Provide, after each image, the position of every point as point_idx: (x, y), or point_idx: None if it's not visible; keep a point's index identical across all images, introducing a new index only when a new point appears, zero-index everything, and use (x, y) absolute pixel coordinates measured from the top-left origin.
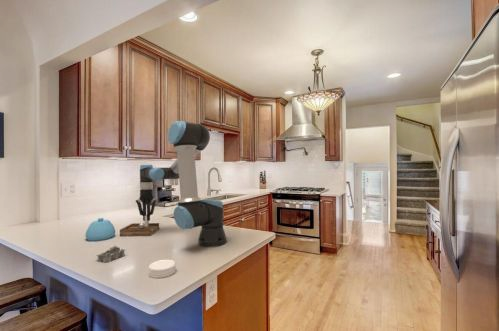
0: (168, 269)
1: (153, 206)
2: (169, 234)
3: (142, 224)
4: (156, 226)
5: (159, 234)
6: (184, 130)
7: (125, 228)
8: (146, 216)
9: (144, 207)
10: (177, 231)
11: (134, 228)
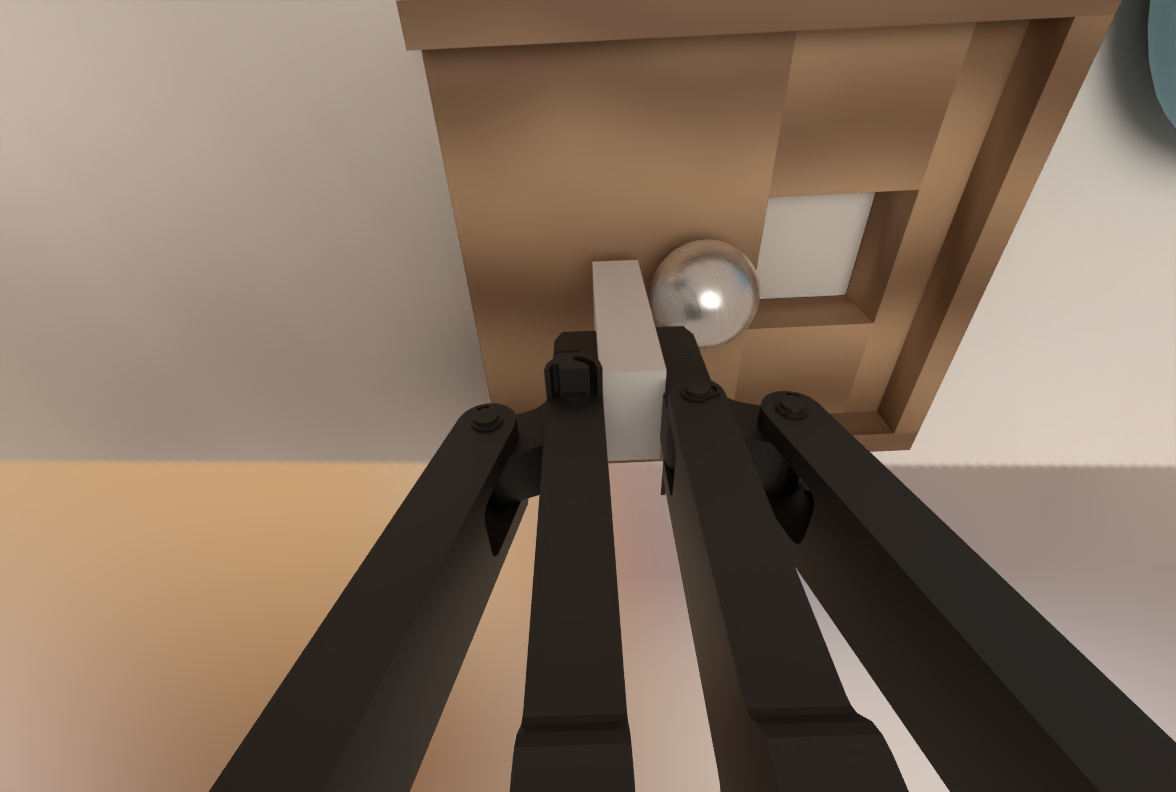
0: None
1: (300, 665)
2: (136, 114)
3: (685, 277)
4: (505, 389)
5: (321, 118)
6: None
7: (989, 180)
8: (611, 369)
9: (729, 605)
10: (157, 300)
11: (827, 318)
